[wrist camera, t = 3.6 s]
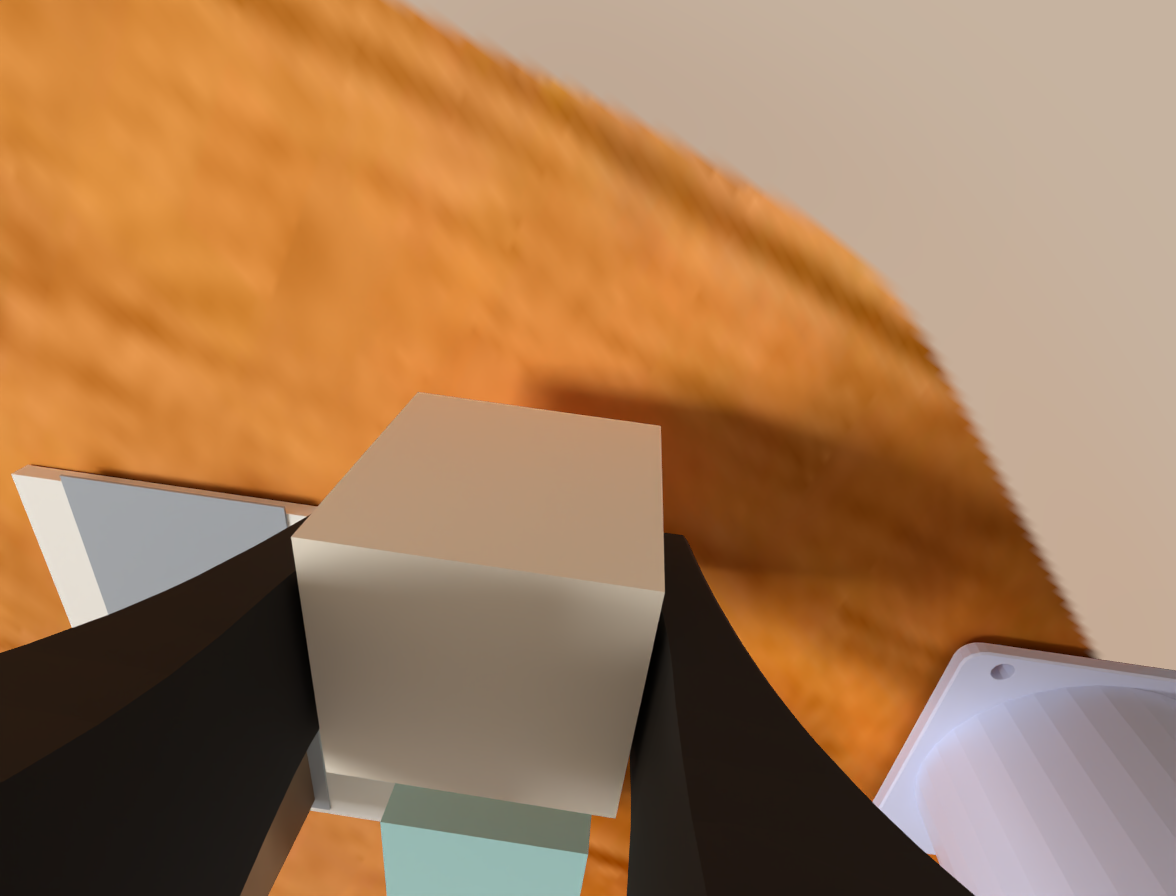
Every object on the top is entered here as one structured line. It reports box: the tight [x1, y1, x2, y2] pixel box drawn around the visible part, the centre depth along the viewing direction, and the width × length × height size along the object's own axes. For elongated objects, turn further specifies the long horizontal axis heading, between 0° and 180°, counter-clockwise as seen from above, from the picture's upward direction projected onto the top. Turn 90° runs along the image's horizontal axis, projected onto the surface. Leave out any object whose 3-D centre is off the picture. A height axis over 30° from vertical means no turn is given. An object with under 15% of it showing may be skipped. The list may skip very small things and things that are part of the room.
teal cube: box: [380, 783, 591, 896], centre depth 16 cm, size 4×4×4 cm
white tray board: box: [11, 465, 395, 821], centre depth 18 cm, size 10×12×1 cm
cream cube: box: [291, 392, 665, 818], centre depth 10 cm, size 4×4×4 cm
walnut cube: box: [240, 752, 315, 896], centre depth 17 cm, size 4×4×4 cm
